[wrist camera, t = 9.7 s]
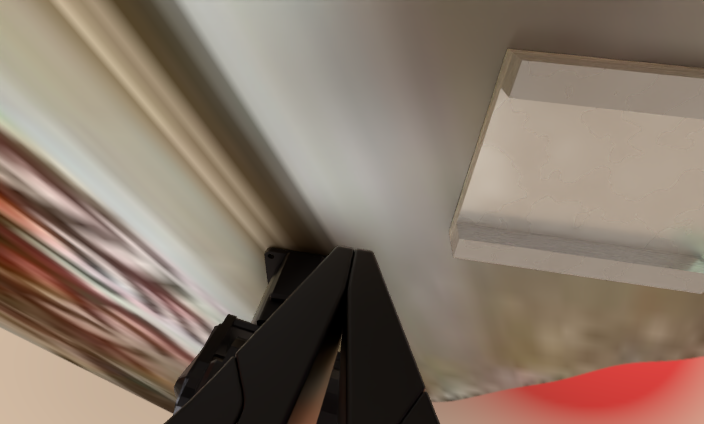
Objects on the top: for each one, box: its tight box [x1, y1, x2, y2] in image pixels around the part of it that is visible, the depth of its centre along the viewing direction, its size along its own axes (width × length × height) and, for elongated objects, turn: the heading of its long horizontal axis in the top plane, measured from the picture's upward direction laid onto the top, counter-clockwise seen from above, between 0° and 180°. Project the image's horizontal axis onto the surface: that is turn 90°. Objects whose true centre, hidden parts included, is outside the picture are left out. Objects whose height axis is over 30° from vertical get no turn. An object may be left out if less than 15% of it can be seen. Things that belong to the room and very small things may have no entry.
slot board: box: [449, 49, 704, 294], centre depth 17 cm, size 11×14×2 cm
